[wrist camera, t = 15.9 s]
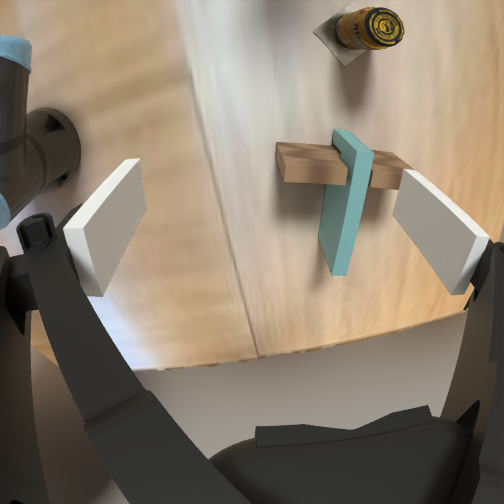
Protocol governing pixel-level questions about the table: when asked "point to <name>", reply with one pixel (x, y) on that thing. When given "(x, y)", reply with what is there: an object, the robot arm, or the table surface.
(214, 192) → the table surface
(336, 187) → the teal plate
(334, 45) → the condiment
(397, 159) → the walnut plate
